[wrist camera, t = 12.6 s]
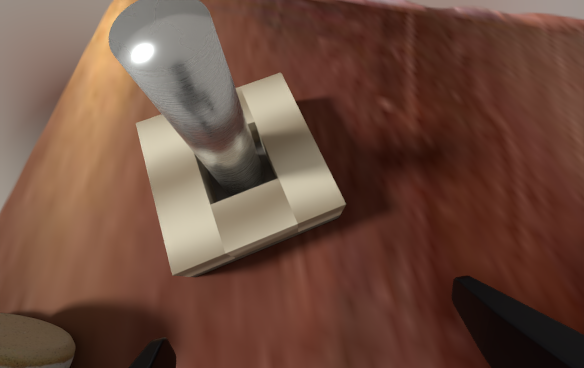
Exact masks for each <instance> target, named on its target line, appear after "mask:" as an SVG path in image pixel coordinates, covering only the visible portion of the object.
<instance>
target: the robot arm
mask: <svg viewBox="0 0 584 368" xmlns="http://www.w3.org/2000/svg"><path fill="white" fill-rule="evenodd" d="M452 301H453V304H454V306H455V307H456V309H457V311H458V313H459V315H460V316H461V318H462V320H463V322H464V323H465V325H466V327H467V329H468V330H469V332H470V334H471V336H472V337H473V339H474V341H475V343H476V344H477V346H478V348H479V350H480V351H481V353H482V354H483V356H484V357H485V359H486V360H487V362H488V363H489V365H490V366H491V368H584V335H583V334H581V333H579V332H577V331H575V330H573V329H571V328H570V327H568V326H566V325H564V324H562V323H560V322H558V321H556V320H554V319H552V318H550V317H548V316H546V315H544V314H542V313H540V312H538V311H536V310H535V309H533V308H531V307H529V306H527V305H525V304H523V303H521V302H519V301H517V300H515V299H513V298H511V297H509V296H507V295H505V294H503V293H502V292H500V291H498V290H496V289H494V288H492V287H490V286H488V285H486V284H484V283H482V282H480V281H478V280H476V279H474V278H472V277H470V276H461V277H456V278H455V279H454V281H453V288H452ZM129 368H176V354H175V352H174V350H173V348H172V346H171V344H170V342H169V341H168V339H167V338H159V339H154V340H152V341H151V342H150V343H149V344H148V345H147V346H146V347H145V348H144V350H143V351H142V352H141V353H140V354H139V356H138V357H137V358H136V359H135V360H134V362H133V363H132V364H131V365H130V366H129Z"/></svg>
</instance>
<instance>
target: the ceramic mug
mask: <svg viewBox="0 0 584 368" xmlns="http://www.w3.org/2000/svg"><path fill="white" fill-rule="evenodd" d="M75 348H76V347H75V343H74V341H73V339H72V337H71V336H70V334H69V333H67V332H66V331H65V330H63V329H62V328H60V327H57V326H55V325H53V324H51V323H48V322H45V321H42V320H39V319H35V318H31V317H26V316H21V315H15V314H6V313H0V368H70V365H71V363H72V360H73V357H74V353H75Z"/></svg>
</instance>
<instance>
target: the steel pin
mask: <svg viewBox="0 0 584 368" xmlns="http://www.w3.org/2000/svg"><path fill="white" fill-rule="evenodd" d="M109 46H110V49H111V51H112V53H113V55H114V56H115V57H116V58H117V60H118V61H119V62H120V63H121V65H122V66H123V67H124V68H125V69H126V71H127V72H128V73H129V74H130V76H131V77H132V78H133V79H134V80H135V82H136V83H137V84H138V85H139V87H140V88H141V89H142V90H143V91H144V93H145V94H146V95H147V96H148V97H149V99H150V100H151V101H152V102H153V104H154V105H155V106H156V107H157V108H158V110H159V111H160V112H161V113H162V115H163V116H164V117H165V118H166V119H167V121H168V122H169V123H170V124H171V125H172V127H173V128H174V129H175V130H176V132H177V133H178V134H179V135H180V136H181V138H182V139H183V140H184V141H185V143H186V144H187V145H188V146H189V147H190V149H191V150H192V151H193V152H194V154H195V155H196V156H197V157H198V158H199V160H200V161H201V162H202V163H203V164H204V166H205V167H206V168H207V169H208V171H209V172H210V173H211V174H212V175H213V177H214V178H215V179H216V180H217V182H218V183H219V184H220V185H221V186H222V188H223V189H224V190H225V191H226V192H227V193H228V194H230V195H232V196H234V195H237V194H239V193H242V192H244V191H247V190H249V189H252V188H254V187H257V186H260V185H262V184H263V181H264V170H263V167H262V165H261V162H260V159H259V156H258V153H257V150H256V147H255V144H254V141H253V138H252V135H251V132H250V130H249V127H248V124H247V121H246V118H245V115H244V112H243V109H242V106H241V103H240V100H239V97H238V94H237V92H236V89H235V86H234V83H233V80H232V77H231V74H230V71H229V68H228V65H227V62H226V59H225V56H224V54H223V51H222V48H221V45H220V42H219V39H218V36H217V33H216V30H215V27H214V24H213V21H212V19H211V16H210V13H209V11H208V9H207V8H206V7H205V5H204V4H203V3H201V2H200V1H199V0H138V1H136V2H135V3H133V4H131V5H130V6H129V7H127V8H126V9H125V10H124V11H123V12H121V14H120V15H119V16H118V17H117V18H116V20H115V21H114V23H113V25H112V27H111V30H110V33H109Z"/></svg>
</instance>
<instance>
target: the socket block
mask: <svg viewBox="0 0 584 368" xmlns="http://www.w3.org/2000/svg"><path fill="white" fill-rule="evenodd" d="M235 89H236V92H237V94H238V97H239V100H240V103H241V106H242V109H243V112H244V115H245V118H246V121H247V124H248V127H249V130H250V132H251V135H252V138H253V141H254V144H255V147H256V150H257V153H258V156H259V159H260V162H261V165H262V167H263V170H264V181H263V184H262V185H260V186H257V187H254V188H252V189H249V190H247V191H244V192H242V193H239V194H237V195H234V196H232V195H230V194H228V193H227V192H226V191H225V190H224V189H223V188H222V186H221V185H220V184H219V183H218V182H217V180H216V179H215V178H214V177H213V175H212V174H211V173H210V172H209V171H208V169H207V168H206V167H205V166H204V164H203V163H202V162H201V161H200V160H199V158H198V157H197V156H196V155H195V154H194V152H193V151H192V150H191V149H190V147H189V146H188V145H187V144H186V143H185V141H184V140H183V139H182V138H181V136H180V135H179V134H178V133H177V132H176V130H175V129H174V128H173V127H172V125H171V124H170V123H169V122H168V121H167V119H166V118H165V117H164V116H163V115H162V114H161V115H158V116H155V117H153V118H150V119H147V120H144V121H141V122H138V123H136V126H137V130H138V134H139V139H140V143H141V147H142V151H143V155H144V159H145V164H146V168H147V172H148V176H149V180H150V184H151V188H152V193H153V197H154V201H155V205H156V209H157V213H158V218H159V222H160V226H161V230H162V234H163V238H164V242H165V247H166V251H167V255H168V259H169V263H170V267H171V272H172V275H175V276H187V277H197V276H200V275H202V274H204V273H207V272H209V271H212V270H214V269H216V268H219V267H221V266H224V265H226V264H229V263H231V262H233V261H236V260H238V259H241V258H243V257H245V256H248V255H250V254H253V253H255V252H257V251H260V250H262V249H265V248H267V247H270V246H272V245H274V244H277V243H279V242H282V241H284V240H286V239H289V238H291V237H294V236H296V235H299V234H301V233H303V232H306V231H308V230H311V229H313V228H315V227H318V226H320V225H323V224H325V223H327V222H330V221H332V220H335V219H337V218H339V216H340V215H341V213H342V211H343V209H344V207H345V205H346V203H345V201H344V199H343V197H342V195H341V193H340V191H339V189H338V187H337V185H336V183H335V181H334V179H333V177H332V175H331V173H330V171H329V169H328V167H327V165H326V163H325V161H324V159H323V157H322V154H321V152H320V150H319V148H318V146H317V144H316V142H315V140H314V138H313V136H312V134H311V132H310V130H309V128H308V126H307V124H306V122H305V120H304V118H303V116H302V114H301V112H300V110H299V108H298V106H297V104H296V102H295V100H294V98H293V96H292V94H291V92H290V90H289V88H288V86H287V84H286V82H285V80H284V78H283V76H282V74H281V73H278V74H275V75H272V76H270V77H267V78H264V79H261V80H258V81H255V82H252V83H250V84H247V85H244V86H241V87H238V88H235Z"/></svg>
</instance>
